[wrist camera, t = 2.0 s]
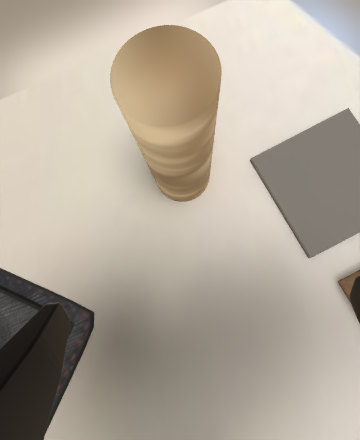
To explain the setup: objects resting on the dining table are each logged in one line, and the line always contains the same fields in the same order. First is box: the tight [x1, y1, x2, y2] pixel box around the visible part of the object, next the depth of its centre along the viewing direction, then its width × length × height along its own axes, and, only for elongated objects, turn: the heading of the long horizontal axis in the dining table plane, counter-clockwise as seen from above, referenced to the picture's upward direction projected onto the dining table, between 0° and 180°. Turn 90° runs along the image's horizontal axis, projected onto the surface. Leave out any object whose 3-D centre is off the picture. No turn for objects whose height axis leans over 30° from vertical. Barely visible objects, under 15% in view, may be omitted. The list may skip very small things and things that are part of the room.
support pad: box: [250, 108, 360, 258], centre depth 22 cm, size 9×9×1 cm
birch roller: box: [110, 25, 221, 201], centre depth 17 cm, size 4×4×12 cm
